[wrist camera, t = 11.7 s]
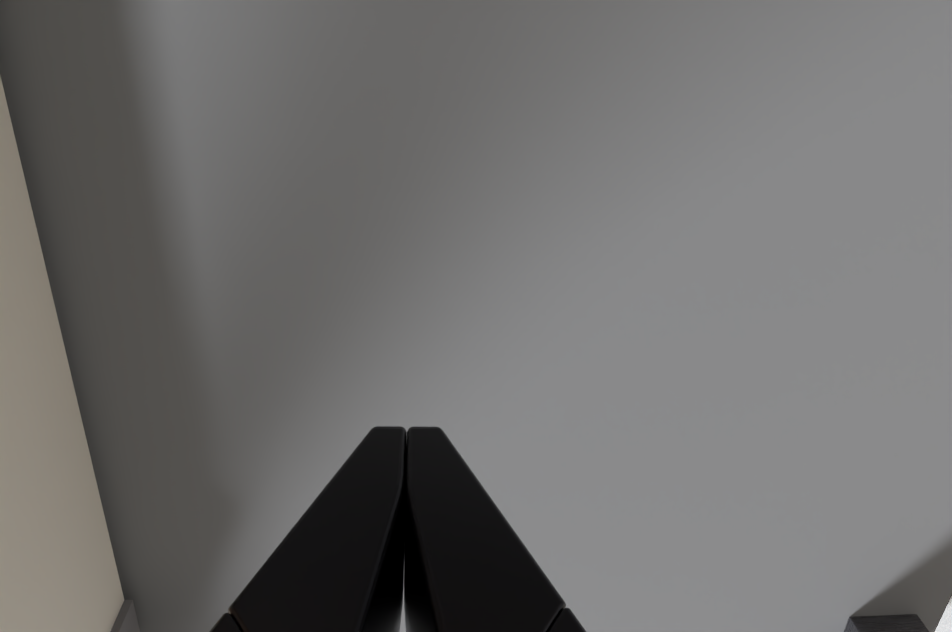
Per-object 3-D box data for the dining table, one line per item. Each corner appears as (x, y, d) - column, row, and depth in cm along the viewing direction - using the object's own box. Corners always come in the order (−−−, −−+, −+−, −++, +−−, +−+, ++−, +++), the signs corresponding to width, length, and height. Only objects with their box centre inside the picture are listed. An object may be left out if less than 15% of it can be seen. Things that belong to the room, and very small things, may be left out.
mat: (38, 788, 23) (32, 802, 22) (-436, -247, 10) (-464, -254, 10) (868, 745, 25) (875, 757, 24) (1295, -182, 12) (1321, -186, 12)
